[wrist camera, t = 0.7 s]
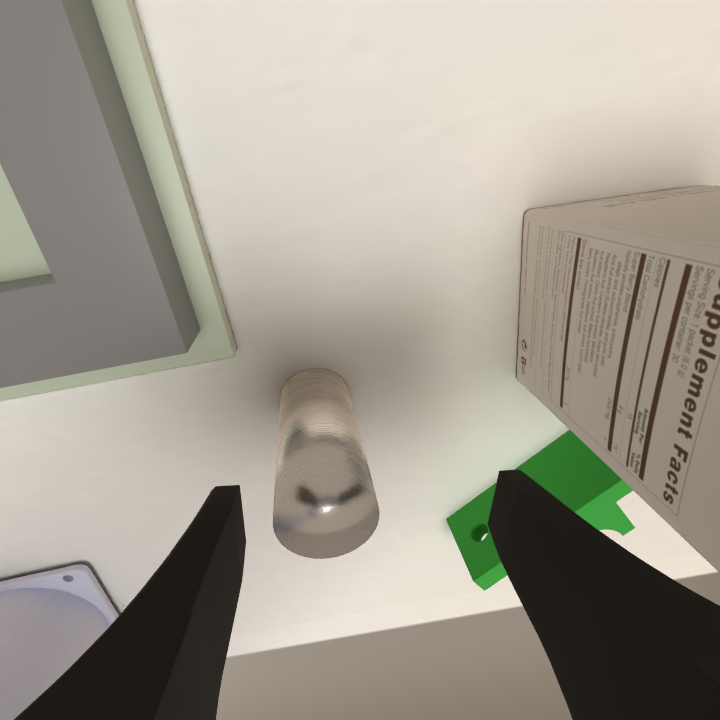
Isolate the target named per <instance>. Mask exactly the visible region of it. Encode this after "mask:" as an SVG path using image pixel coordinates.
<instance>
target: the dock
mask: <svg viewBox="0 0 720 720" xmlns="http://www.w3.org/2000/svg"><path fill="white" fill-rule="evenodd" d="M236 349H237V347H236V344H235V340H234V337H233V334H232V330H231V327H230V324H229V320H228V317H227V314H226V310H225V307H224V304H223V300H222V297H221V293H220V290H219V287H218V283H217V280H216V277H215V273H214V270H213V267H212V263H211V260H210V257H209V253H208V250H207V246H206V243H205V240H204V236H203V233H202V230H201V226H200V223H199V220H198V216H197V213H196V210H195V206H194V203H193V199H192V196H191V193H190V189H189V186H188V183H187V179H186V176H185V173H184V169H183V166H182V163H181V159H180V156H179V152H178V149H177V146H176V142H175V139H174V136H173V132H172V129H171V126H170V122H169V119H168V116H167V112H166V109H165V105H164V102H163V99H162V95H161V92H160V89H159V85H158V82H157V79H156V75H155V72H154V69H153V65H152V62H151V58H150V55H149V52H148V48H147V45H146V42H145V38H144V35H143V32H142V28H141V25H140V22H139V18H138V15H137V11H136V8H135V5H134V1H133V0H0V401H5V400H10V399H16V398H21V397H26V396H31V395H37V394H42V393H47V392H53V391H58V390H63V389H68V388H74V387H79V386H84V385H89V384H95V383H100V382H105V381H110V380H116V379H121V378H126V377H131V376H137V375H142V374H147V373H152V372H158V371H163V370H168V369H174V368H179V367H184V366H189V365H195V364H200V363H205V362H210V361H216V360H221V359H226V358H231V357H234V356H235V352H236Z"/></svg>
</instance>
